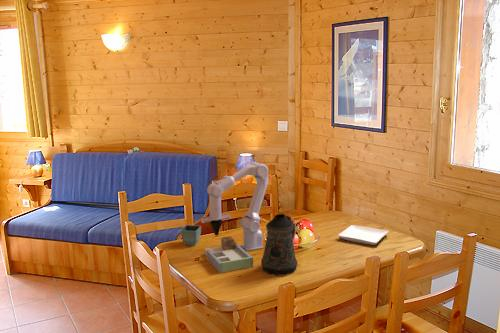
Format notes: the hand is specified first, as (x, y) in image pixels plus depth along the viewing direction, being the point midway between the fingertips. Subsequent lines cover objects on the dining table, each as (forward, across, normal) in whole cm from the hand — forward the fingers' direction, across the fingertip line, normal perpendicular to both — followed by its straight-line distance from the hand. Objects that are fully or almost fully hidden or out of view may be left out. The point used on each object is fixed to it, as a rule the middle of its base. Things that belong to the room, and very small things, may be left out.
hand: (216, 234), depth 239 cm
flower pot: (+11, +7, -20) cm, 24 cm away
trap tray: (+10, -2, +8) cm, 13 cm away
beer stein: (+11, -21, +27) cm, 36 cm away
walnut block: (+8, -6, 0) cm, 10 cm away
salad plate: (+11, -79, +12) cm, 81 cm away
